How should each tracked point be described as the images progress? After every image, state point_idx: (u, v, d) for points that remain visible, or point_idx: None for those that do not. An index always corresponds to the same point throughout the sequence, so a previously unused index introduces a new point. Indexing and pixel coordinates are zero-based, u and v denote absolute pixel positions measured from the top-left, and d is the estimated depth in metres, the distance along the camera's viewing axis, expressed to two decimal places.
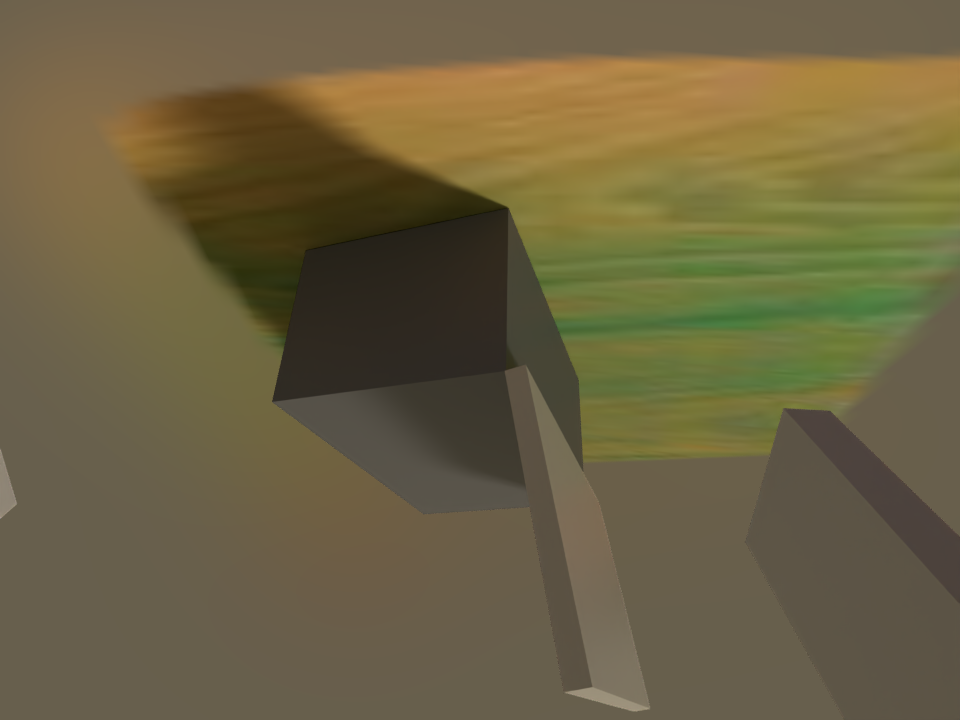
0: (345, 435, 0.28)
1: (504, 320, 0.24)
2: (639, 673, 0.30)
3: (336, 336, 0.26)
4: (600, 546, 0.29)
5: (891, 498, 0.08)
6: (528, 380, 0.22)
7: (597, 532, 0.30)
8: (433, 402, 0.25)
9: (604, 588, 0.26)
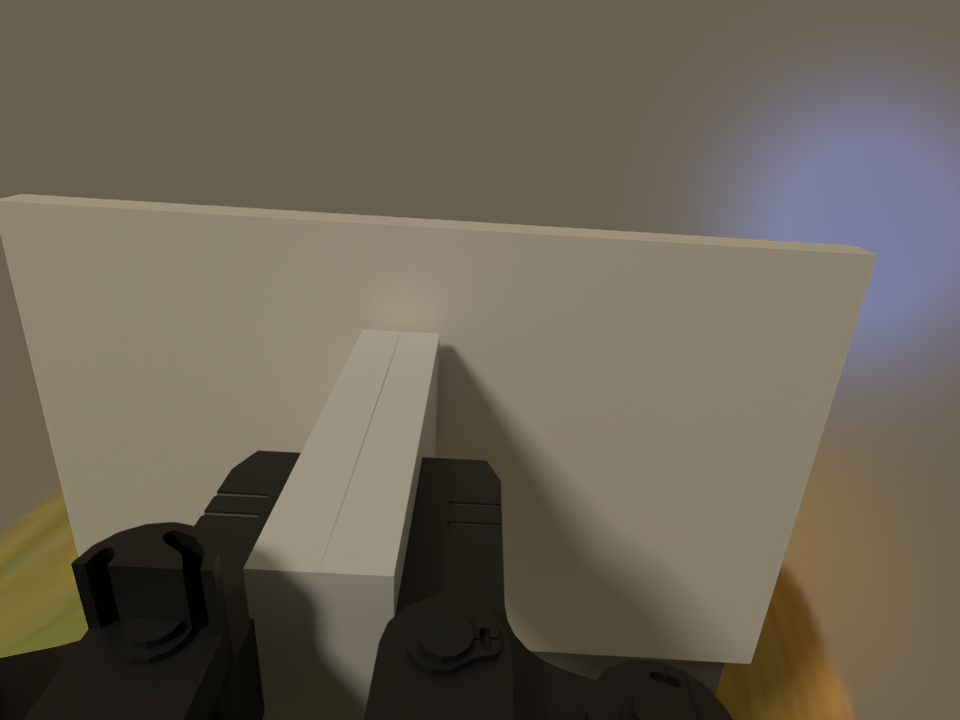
0: None
1: None
2: (72, 280, 0.12)
3: None
4: None
5: (404, 386, 0.10)
6: (755, 643, 0.15)
7: None
8: None
9: None
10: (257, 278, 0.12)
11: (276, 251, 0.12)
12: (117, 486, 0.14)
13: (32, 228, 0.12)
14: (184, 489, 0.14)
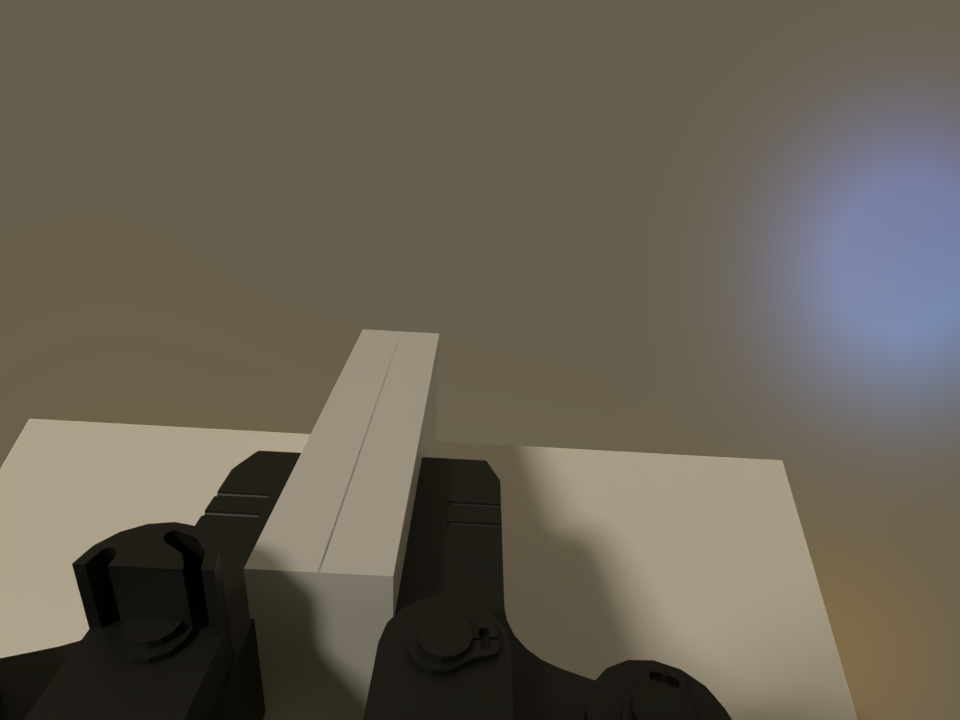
0: None
1: None
2: (53, 482, 0.13)
3: None
4: None
5: (404, 386, 0.10)
6: None
7: None
8: None
9: None
10: None
11: None
12: None
13: (48, 439, 0.13)
14: None
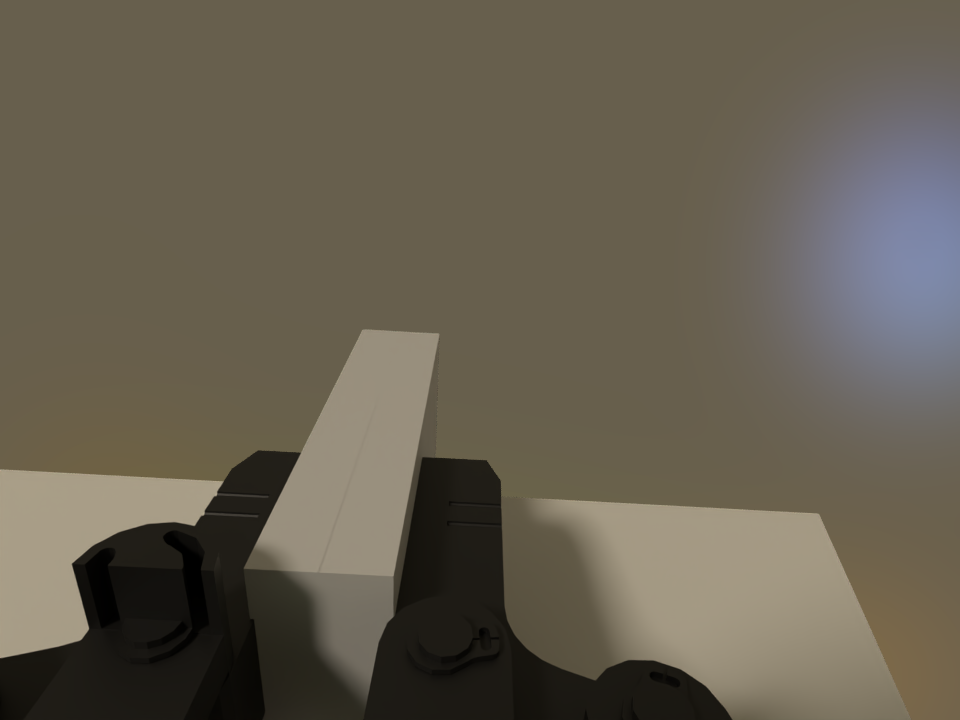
0: None
1: None
2: None
3: None
4: None
5: (404, 386, 0.10)
6: None
7: None
8: None
9: None
10: None
11: None
12: None
13: None
14: None
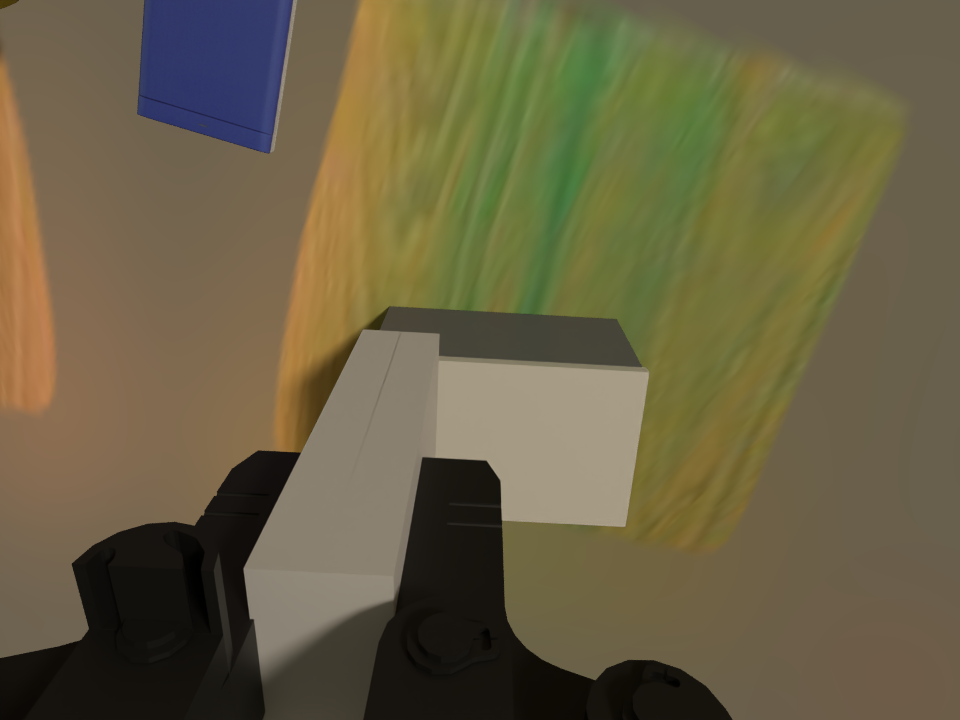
0: None
1: None
2: (609, 505, 0.39)
3: None
4: (550, 427, 0.37)
5: (404, 386, 0.10)
6: None
7: (555, 416, 0.37)
8: None
9: (506, 461, 0.38)
10: (551, 506, 0.39)
11: (543, 513, 0.39)
12: (617, 437, 0.37)
13: (616, 519, 0.39)
14: (592, 436, 0.37)
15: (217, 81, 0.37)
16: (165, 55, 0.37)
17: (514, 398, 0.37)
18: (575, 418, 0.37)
